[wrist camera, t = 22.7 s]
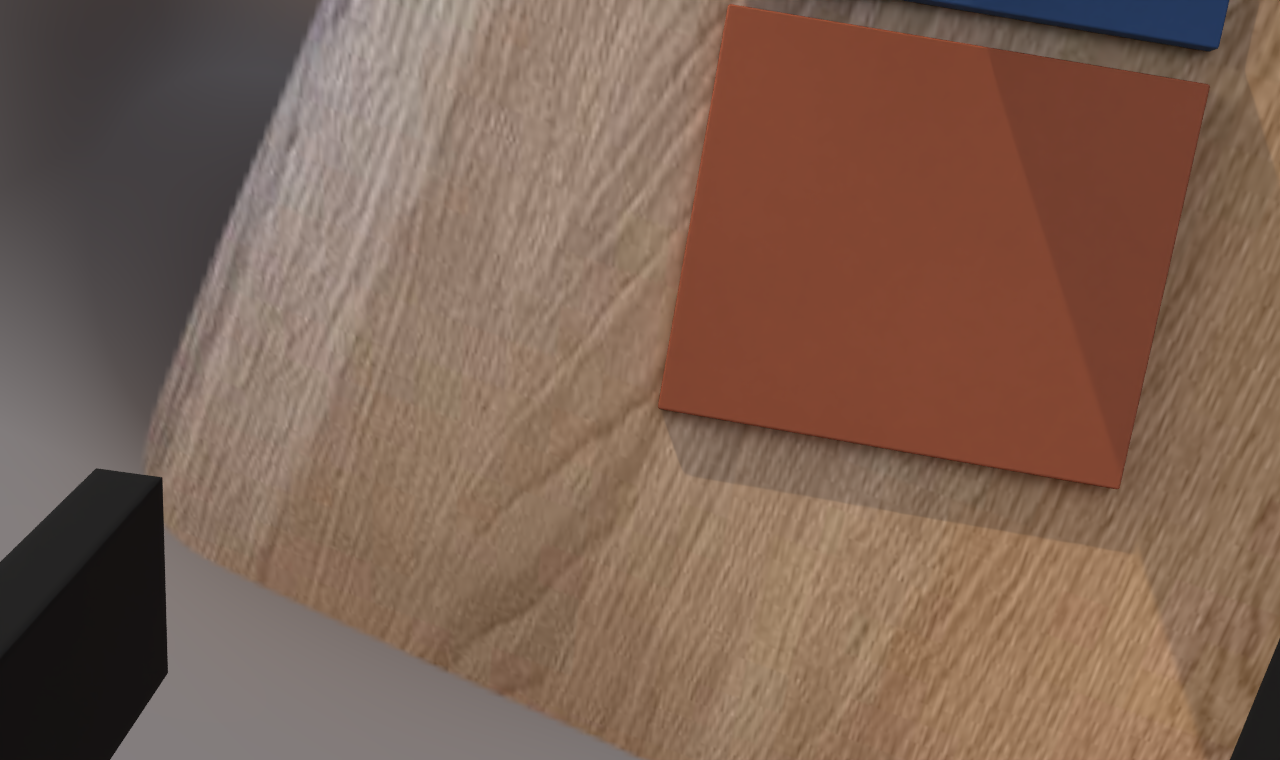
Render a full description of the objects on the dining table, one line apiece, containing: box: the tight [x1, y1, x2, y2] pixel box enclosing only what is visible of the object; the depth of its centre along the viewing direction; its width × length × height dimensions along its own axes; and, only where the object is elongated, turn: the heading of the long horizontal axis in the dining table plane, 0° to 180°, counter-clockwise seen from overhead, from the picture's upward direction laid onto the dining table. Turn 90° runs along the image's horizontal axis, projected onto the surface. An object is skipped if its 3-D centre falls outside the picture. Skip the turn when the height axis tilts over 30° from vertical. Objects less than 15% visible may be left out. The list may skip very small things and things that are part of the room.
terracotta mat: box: [658, 4, 1210, 489], centre depth 35 cm, size 14×12×1 cm
